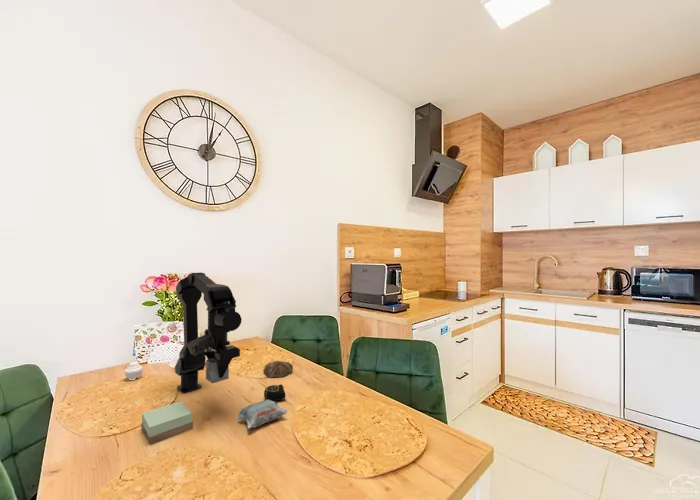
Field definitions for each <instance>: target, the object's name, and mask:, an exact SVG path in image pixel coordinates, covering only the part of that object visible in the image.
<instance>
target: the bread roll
mask: <svg viewBox="0 0 700 500" xmlns="http://www.w3.org/2000/svg"><path fill="white" fill-rule="evenodd" d="M293 372H294V367H293V364H292V363H291V362H289V361H281V360H274V361H270V362H269V363H267V364H266V365H265V366H264V367H263V375H264V374H265V375H264V376H266V377H267V378H270V379H271V378H276V377H277V378H280V379H283V378H286V377H288V376H289V374H290V375H292V374H293Z"/></svg>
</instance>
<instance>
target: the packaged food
mask: <svg viewBox="0 0 700 500" xmlns="http://www.w3.org/2000/svg"><path fill="white" fill-rule="evenodd" d="M287 412H288V410H287V409H285V408H282V407H280V406H279V405H278V403H277V401H271V400H266V399H264V400H263V401H262V400H261V401H259V402H255V403H253V404H250V405H248V406H245V407H244V408H241V409H240V411H239V413H238V415H237V418H236V419H237V420H240V419H241V420H242V421H244V422H246V426H247V430H250V429H252V428H254V429H255V428H257V427H260V426H263V425H264V424H266V423H270V422H272V421H275V420H276V419H279V418H281V417H282V416H284V415H286V414H288V413H287Z"/></svg>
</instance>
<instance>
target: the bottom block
mask: <svg viewBox="0 0 700 500" xmlns="http://www.w3.org/2000/svg"><path fill="white" fill-rule="evenodd" d="M140 428H141V432H142V433H143V434H144V436H145V437H146V439H147V441H148V442H149V443H150V445H155V444H157V443H161V442H162V441H165V440H167V439H170V438H173V437H175V436H177V435H180V434H183V433H185V432H187V431H191V430H193V429H194V421H193V420H192V422H191V423H188V424H185V425H182V426H180V427H177V428H174V429H171V430H169V431H166V432H163V433H160V434H157V435H155V436H152V437H149V435H148V433H147V431H146V429H145V427H144V425H143V423H142V422H141V427H140Z"/></svg>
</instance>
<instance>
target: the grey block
mask: <svg viewBox="0 0 700 500" xmlns="http://www.w3.org/2000/svg"><path fill="white" fill-rule="evenodd" d="M229 368H230V367H229V366H228V368H227V370H226V372H225V374H224V376H223V377H222V378H219V375H218V368H217V362H216V361H215V360H214V359H206V360H205V380H207V381H208V382H210V383H211V384H215V383H218V382H219V383H220V382H221V381H226V380H228V379H230V377H229V371H230V370H229Z"/></svg>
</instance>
